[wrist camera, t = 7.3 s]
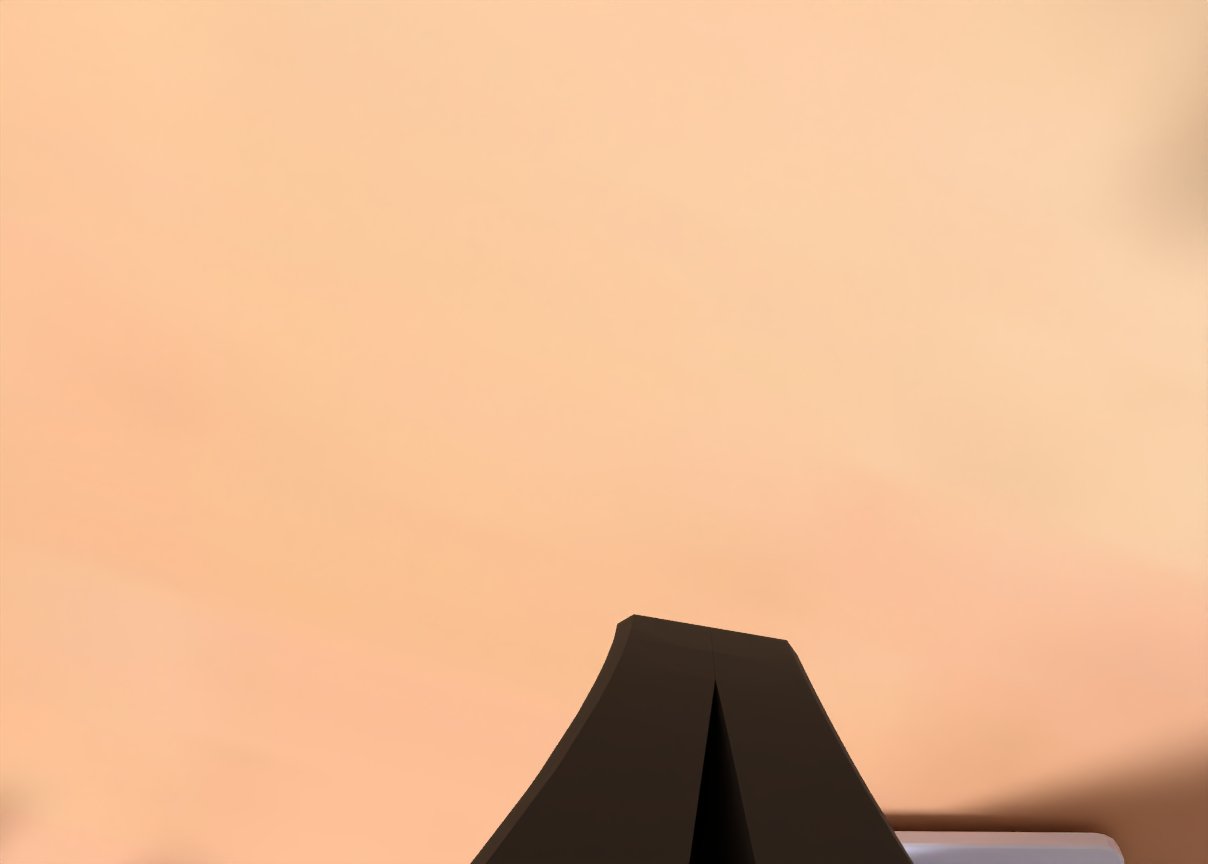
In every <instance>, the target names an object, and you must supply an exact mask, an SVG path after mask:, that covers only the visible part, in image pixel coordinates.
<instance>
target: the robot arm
mask: <svg viewBox="0 0 1208 864" xmlns="http://www.w3.org/2000/svg"><path fill="white" fill-rule="evenodd" d="M471 864H1124V858H1123V855H1122V853H1121V851H1120V848H1119V846H1118V845H1117V843H1116V842H1115V841H1114V839H1112V838H1110V837H1109V836H1107V835H1105V834H1099V833H1080V832H933V831H894V830H893V829H892V827H891V825H890V824H889V822H888V821H887V819H886V817H885V816H884V814H883V812H882V811H881V809H880V807H879V806H878V804H877V802H876V801H875V799H874V798H873V796H872V794H871V793H870V791H869V789H868V787H867V786H866V784H865V782H864V781H863V779H862V777H861V775H860V774H859V772H858V770H857V768H856V767H855V765H854V763H853V761H852V759H851V758H850V756H849V754H848V752H847V750H846V748H845V747H844V745H843V743H842V741H841V739H840V737H839V736H838V734H837V732H836V730H835V728H834V727H833V725H832V723H831V721H830V719H829V717H828V715H827V713H826V711H825V709H824V708H823V706H822V704H821V702H820V700H819V698H818V696H817V694H816V692H815V690H814V688H813V686H812V684H811V682H810V680H809V678H808V676H807V674H806V672H805V670H804V668H803V666H802V664H801V662H800V660H799V658H798V656H797V654H796V653H795V651H794V650H793V648H792V647H791V645H790V644H789V643H788V641H787V640H782V639H776V638H770V637H764V636H758V635H753V634H747V633H741V632H735V631H729V630H723V629H717V628H711V627H705V626H700V625H694V624H688V623H682V622H676V621H670V620H664V619H658V618H652V617H647V616H641V615H635V614H634V615H632V616H630V617H629V618H627V619H625V620H623V621H622V622H620V623H618V624H617V628H616V633H615V637H614V640H613V643H612V646H611V648H610V651H609V653H608V656H607V658H606V661H605V663H604V665H603V667H602V669H601V671H600V673H599V675H598V677H597V679H596V681H595V683H594V685H593V687H592V689H591V691H590V692H589V694H588V696H587V698H586V700H585V701H584V703H583V705H582V707H581V708H580V710H579V712H578V714H577V715H576V717H575V719H574V720H573V722H572V723H571V725H570V726H569V728H568V729H567V731H566V732H565V734H564V736H563V737H562V739H561V740H560V742H559V743H558V745H557V746H556V748H555V749H554V751H553V753H552V754H551V756H550V757H549V759H548V760H547V762H546V763H545V765H544V766H543V768H542V770H541V771H540V773H539V774H538V775H537V777H536V778H535V780H534V781H533V783H532V784H531V785H530V787H529V788H528V790H527V791H526V792H525V794H524V795H523V796H522V797H521V799H520V800H519V801H518V803H517V804H516V805H515V807H514V808H513V809H512V811H511V812H510V813H509V814H508V816H507V817H506V818H505V820H504V821H503V822H502V824H501V825H500V826H499V827H498V829H497V830H496V831H495V833H494V834H493V835H492V837H491V838H490V839H489V840H488V842H487V843H486V844H485V846H484V847H483V848H482V850H481V851H480V852H479V853H478V855H477V856H476V857H475V859H474V860H473V861H472V862H471Z"/></svg>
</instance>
